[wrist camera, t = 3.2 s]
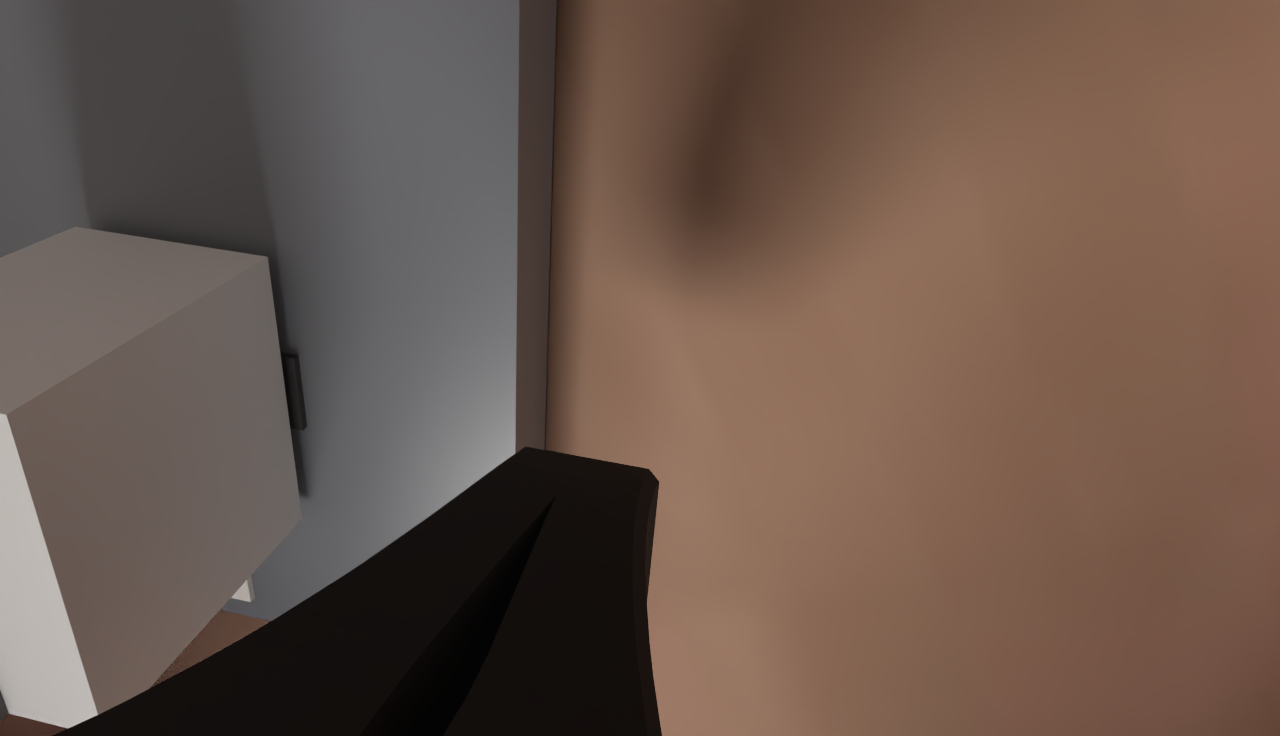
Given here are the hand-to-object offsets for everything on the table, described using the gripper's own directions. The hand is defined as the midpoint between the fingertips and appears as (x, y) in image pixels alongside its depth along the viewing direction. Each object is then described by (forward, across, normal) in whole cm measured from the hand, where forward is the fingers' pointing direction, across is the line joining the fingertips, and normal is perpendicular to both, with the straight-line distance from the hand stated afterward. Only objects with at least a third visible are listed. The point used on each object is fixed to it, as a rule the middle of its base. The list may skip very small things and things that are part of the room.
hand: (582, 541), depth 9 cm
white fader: (+1, +5, 0) cm, 6 cm away
